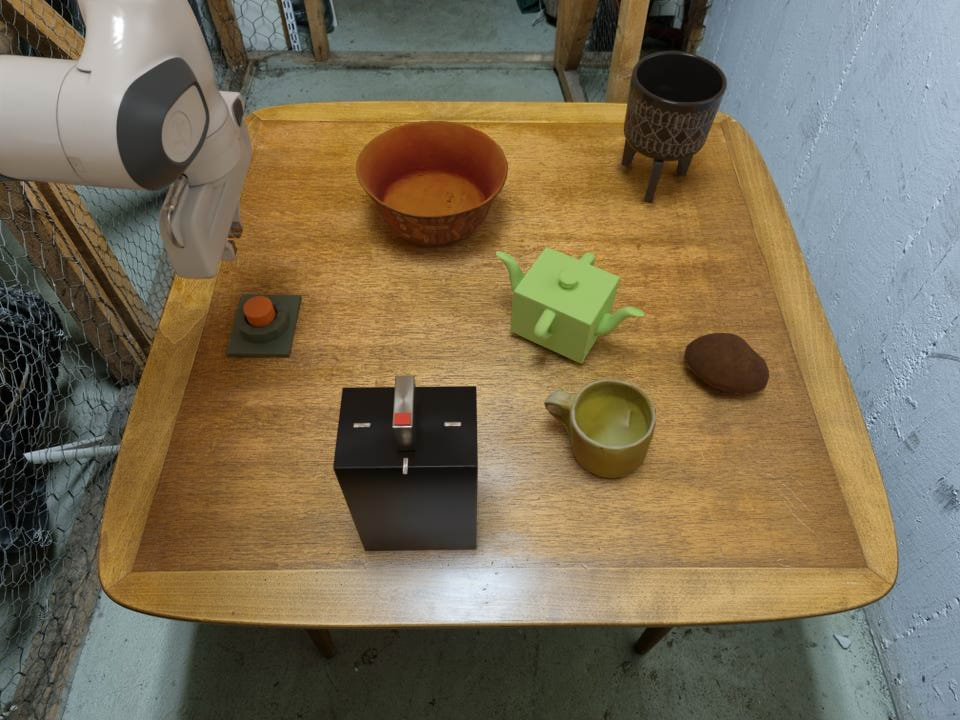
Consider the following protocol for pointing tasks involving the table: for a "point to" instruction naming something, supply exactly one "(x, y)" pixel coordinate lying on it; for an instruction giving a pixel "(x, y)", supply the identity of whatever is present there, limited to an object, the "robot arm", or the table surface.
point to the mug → (606, 425)
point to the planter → (670, 110)
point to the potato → (727, 363)
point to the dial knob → (405, 413)
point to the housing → (265, 329)
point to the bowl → (432, 179)
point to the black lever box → (410, 469)
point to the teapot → (564, 302)
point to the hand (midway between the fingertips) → (232, 244)
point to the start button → (259, 311)
